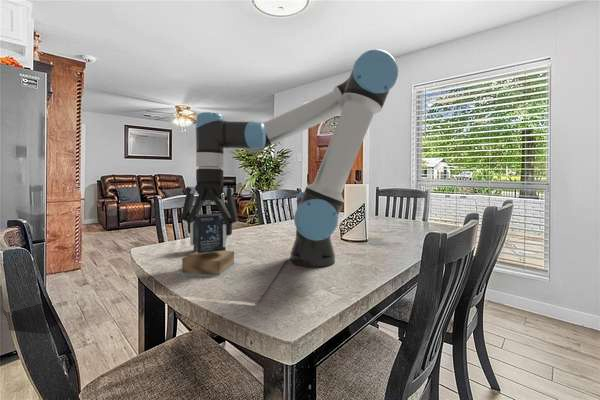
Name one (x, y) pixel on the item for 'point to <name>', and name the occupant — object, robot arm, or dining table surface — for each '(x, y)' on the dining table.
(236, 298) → the dining table surface
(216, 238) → the box
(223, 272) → the board
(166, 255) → the dining table surface
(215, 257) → the base slab
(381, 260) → the dining table surface
